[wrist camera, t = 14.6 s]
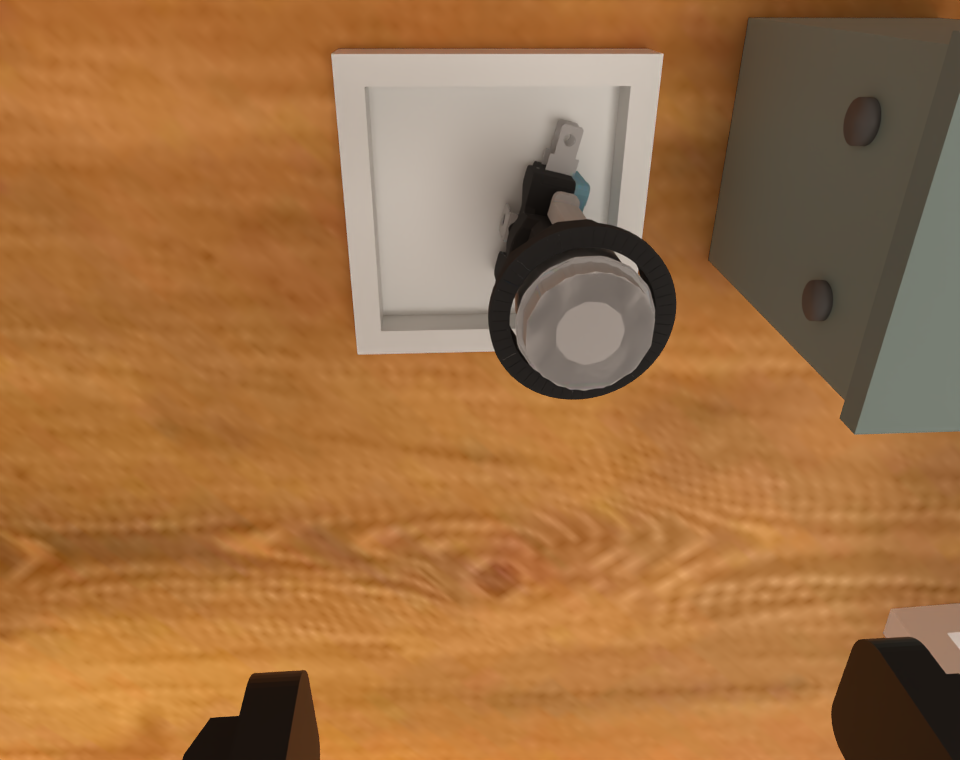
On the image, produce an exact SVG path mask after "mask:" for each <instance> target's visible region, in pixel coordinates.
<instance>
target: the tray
mask: <svg viewBox="0 0 960 760" xmlns="http://www.w3.org/2000/svg"><path fill="white" fill-rule="evenodd" d="M663 55H664V54H662V53H659V52H657V51H654V50H651V49H337V50H336V51H335V52H333V53H332V54H331V57H332V68H333V80H334V91H335V103H336V114H337V125H338V137H339V148H340V160H341V171H342V183H343V194H344V205H345V217H346V228H347V240H348V251H349V262H350V274H351V285H352V297H353V308H354V319H355V331H356V342H357V354H358V355H359V354H403V353H446V352H490V351H495V350H494V348H493V345H492V341H491V337H490V332H489V326H488V307H489V301H490V297H491V293H492V290H493V287H494V285H495V281H496V280H495V276H494V269H495V265H496V261H497V257H498V254H499V252H500V251H502V252H506V243H507V242H504V241H502V238H501V235H500V232H499V226H500V221H501V218H502V214H503V210H504V206H505V204H506V203H508V204H509V207H510V210H511V212H512V213H515V214H519V212H520V209H521V205H522V187H523V179H524V176H525V172H526V169H527V166H528V165H533V163H534V161H537V162H542V160H543V157H544V153H545V149H546V148H549V149H550V147H551V143H552V139H553V136H554V132H555V129H556V125H557V122H558V120H560V119H563V120H567V121H571V122H575V123H577V124H578V126H579V127H581V128H583V130H584V132H583V135H582V139H581V142H580V145H579V149H578V152H577V155H576V158H575V159H576V160H579V163H578V166H577V169H576V171H578V172H579V173H580V175H581V176H582V177H583V178H584V180H585V181H586V182H587V183H588V184H589V185H590V193H589V197H588V200H587V203H586V206H584V210H583V214H584V216H585V217H586V219H591V220H593V221H595V222H597V223H603V224H609V225H613V226H616V227H620V228H622V229H625V230H627V231H630V232H631V233H633V234H635V235H637V236H638V237H640V238H641V239H642V234H643V225H644V217H645V208H646V200H647V191H648V183H649V174H650V166H651V157H652V149H653V140H654V132H655V123H656V115H657V106H658V98H659V89H660V81H661V72H662V64H663ZM569 138H570V134H569V135H567V136H565V138H564V141H566V140H568V139H569ZM574 142H575V141H574ZM504 220H505V219H504ZM614 253H615V254H616V255H617V257H618V258H619V259H620V261H621V262H622V263H624V264H626V265H628V266H630V267H631V268H633V269H634V270H635V271H636V272H637V273H638V267H637V265H636V264H635V263H634V262H633V261H632V260H630V259H629V258H627V257H625V256H623V255H621V254H619V253H617V252H614ZM515 318H516V312H515V298H514V300H513V303H512V307H511V312H510V327H511V329H512V330H513V332H514V334H515V335H516V329H515Z"/></svg>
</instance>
